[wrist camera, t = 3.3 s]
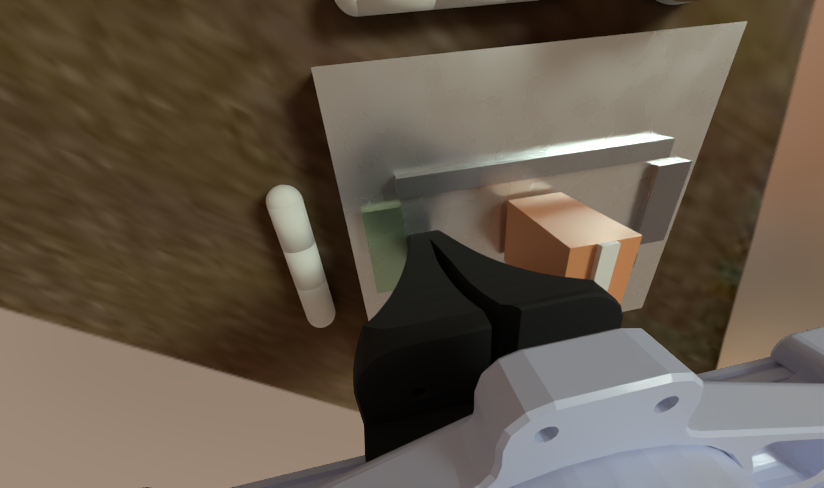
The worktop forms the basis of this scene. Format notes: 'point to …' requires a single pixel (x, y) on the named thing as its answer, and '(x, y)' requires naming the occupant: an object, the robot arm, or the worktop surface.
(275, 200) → the rod
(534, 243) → the lever
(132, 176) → the worktop surface
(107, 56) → the worktop surface
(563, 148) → the breaker panel
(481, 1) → the rod
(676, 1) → the pill bottle
